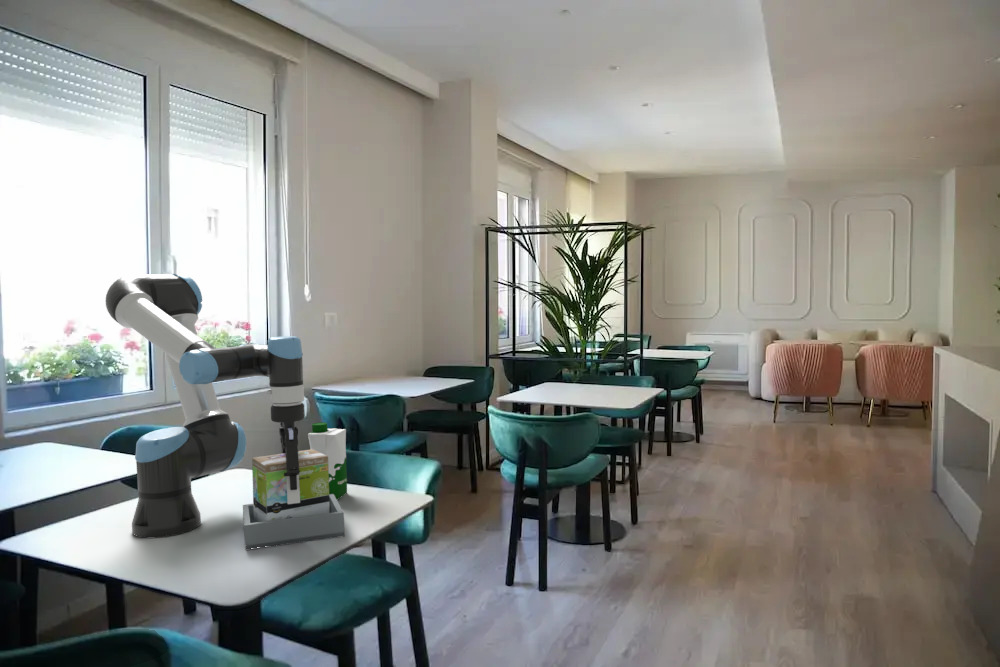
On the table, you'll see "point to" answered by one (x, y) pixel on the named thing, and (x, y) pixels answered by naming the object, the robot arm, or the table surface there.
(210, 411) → the robot arm
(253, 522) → the walled tray
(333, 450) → the milk carton
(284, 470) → the tea box
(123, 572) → the table surface
